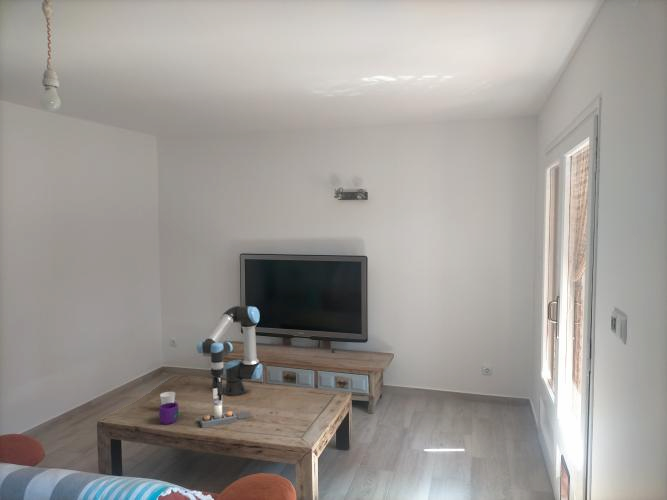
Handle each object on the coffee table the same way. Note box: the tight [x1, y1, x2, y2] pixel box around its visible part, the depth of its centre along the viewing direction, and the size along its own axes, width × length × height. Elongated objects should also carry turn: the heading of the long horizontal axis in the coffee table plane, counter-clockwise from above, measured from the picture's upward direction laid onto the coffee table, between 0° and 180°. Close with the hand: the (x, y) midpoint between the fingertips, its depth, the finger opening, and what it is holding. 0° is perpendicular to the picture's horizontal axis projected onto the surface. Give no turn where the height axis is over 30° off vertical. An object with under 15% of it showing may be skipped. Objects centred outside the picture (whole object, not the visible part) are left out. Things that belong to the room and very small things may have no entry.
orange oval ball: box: [225, 410, 233, 417], centre depth 305 cm, size 4×4×3 cm
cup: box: [159, 391, 176, 405], centre depth 321 cm, size 10×10×11 cm
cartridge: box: [213, 399, 223, 420], centre depth 301 cm, size 5×5×12 cm
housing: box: [198, 410, 238, 429], centre depth 302 cm, size 21×11×3 cm, turn 116°
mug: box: [158, 401, 179, 425], centre depth 306 cm, size 17×11×10 cm, turn 171°
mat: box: [234, 411, 254, 420], centre depth 311 cm, size 9×9×1 cm
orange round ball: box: [203, 414, 211, 421], centre depth 299 cm, size 4×4×3 cm
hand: (217, 401), depth 301 cm, fingers open, 13 cm apart
